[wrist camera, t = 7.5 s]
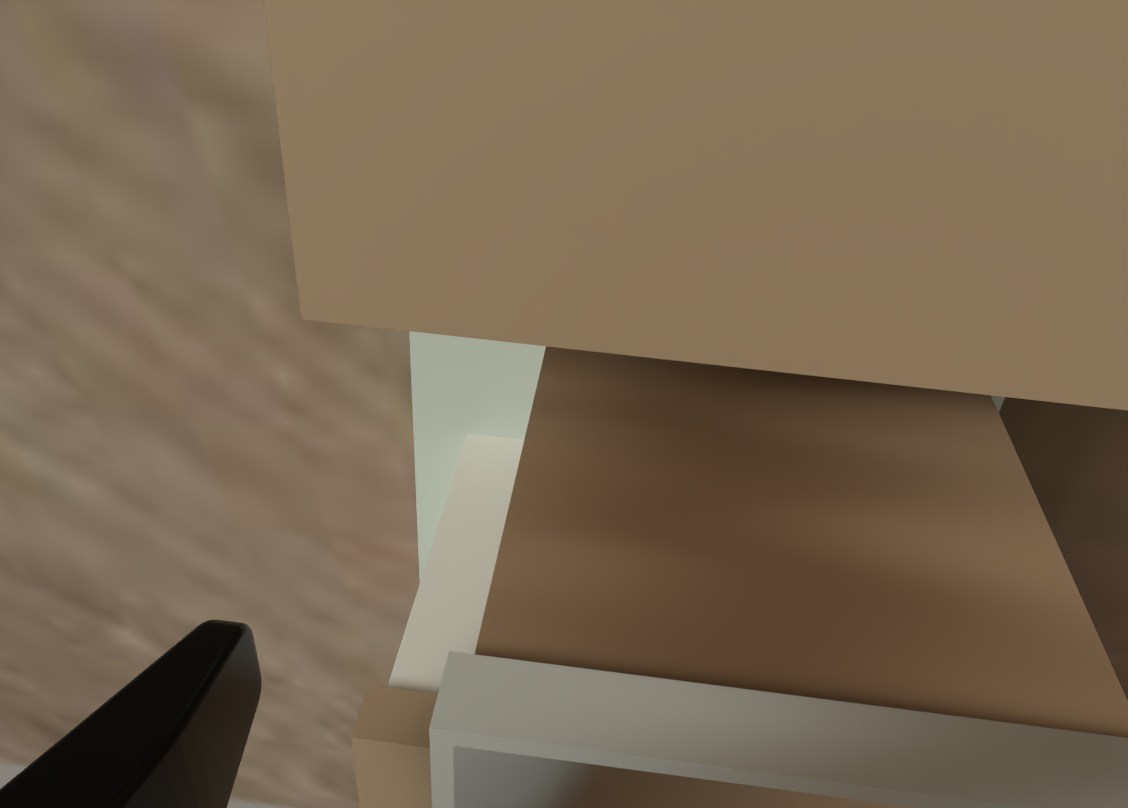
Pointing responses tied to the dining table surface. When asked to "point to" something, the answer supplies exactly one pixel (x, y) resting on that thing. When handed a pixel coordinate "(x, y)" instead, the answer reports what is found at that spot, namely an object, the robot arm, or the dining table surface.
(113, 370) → the dining table surface
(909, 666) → the peg
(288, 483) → the dining table surface
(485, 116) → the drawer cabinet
